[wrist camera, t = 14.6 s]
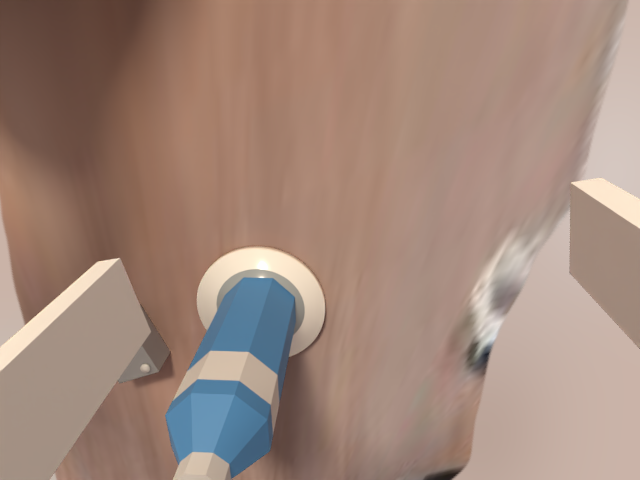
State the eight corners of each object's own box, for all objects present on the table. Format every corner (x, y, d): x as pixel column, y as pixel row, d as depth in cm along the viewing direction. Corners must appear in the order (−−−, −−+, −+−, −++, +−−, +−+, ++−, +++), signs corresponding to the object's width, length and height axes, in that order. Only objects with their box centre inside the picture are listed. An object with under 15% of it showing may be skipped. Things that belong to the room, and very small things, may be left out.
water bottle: (310, 326, 57) (281, 520, 34) (244, 348, 59) (176, 544, 36) (278, 264, 54) (223, 433, 31) (209, 289, 56) (110, 464, 33)
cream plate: (182, 256, 55) (179, 261, 54) (310, 236, 53) (309, 240, 52) (220, 361, 62) (217, 367, 60) (336, 346, 59) (336, 352, 58)
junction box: (101, 317, 60) (83, 337, 56) (140, 304, 59) (124, 323, 55) (133, 363, 63) (118, 385, 59) (170, 351, 62) (157, 373, 58)
